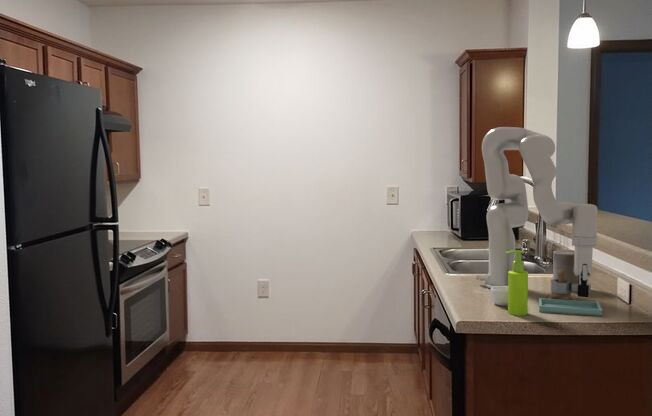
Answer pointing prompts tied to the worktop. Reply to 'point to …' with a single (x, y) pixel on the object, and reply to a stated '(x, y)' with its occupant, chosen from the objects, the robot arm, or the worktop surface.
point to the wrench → (565, 286)
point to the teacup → (500, 295)
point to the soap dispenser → (517, 286)
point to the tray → (570, 307)
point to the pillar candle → (564, 264)
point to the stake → (558, 295)
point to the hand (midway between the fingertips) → (582, 295)
